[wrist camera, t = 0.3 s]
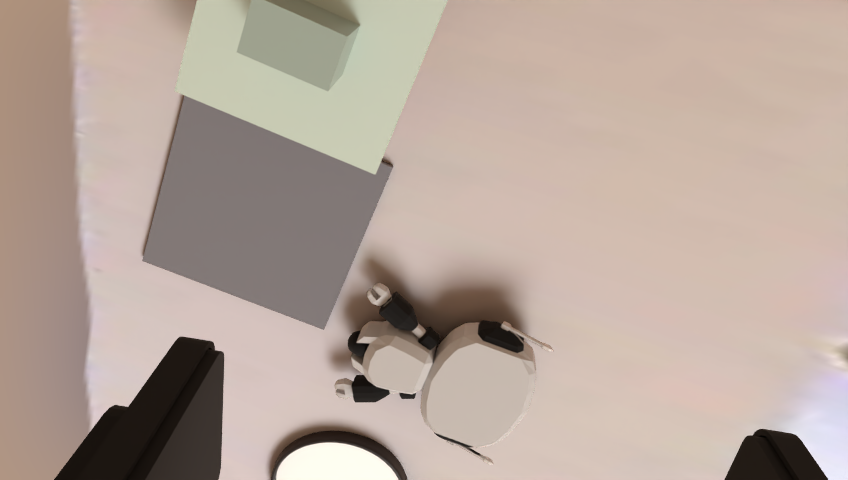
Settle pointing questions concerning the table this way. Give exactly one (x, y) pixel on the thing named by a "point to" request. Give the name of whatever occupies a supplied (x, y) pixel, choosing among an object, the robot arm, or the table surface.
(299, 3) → the cover
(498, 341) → the robot toy
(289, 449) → the magnifying glass
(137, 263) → the table surface
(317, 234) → the mat
